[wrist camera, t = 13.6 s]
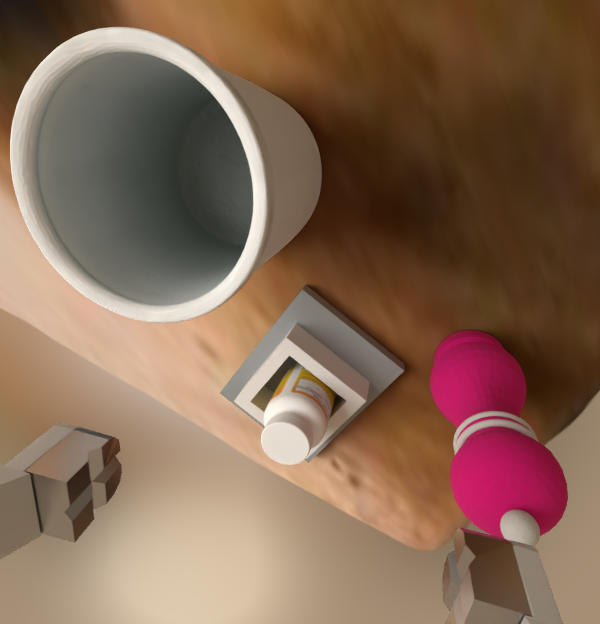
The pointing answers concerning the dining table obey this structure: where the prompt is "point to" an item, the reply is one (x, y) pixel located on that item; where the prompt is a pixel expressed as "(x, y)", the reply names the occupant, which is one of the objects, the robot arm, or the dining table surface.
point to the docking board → (315, 363)
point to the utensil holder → (157, 173)
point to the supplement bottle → (296, 416)
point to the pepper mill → (495, 441)
